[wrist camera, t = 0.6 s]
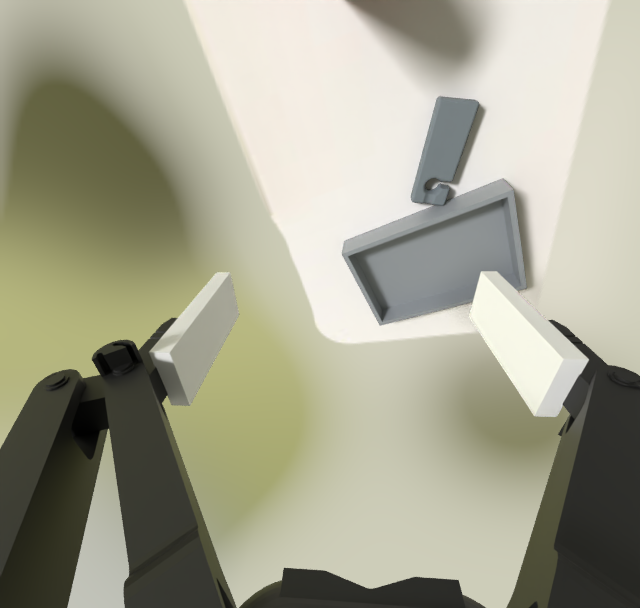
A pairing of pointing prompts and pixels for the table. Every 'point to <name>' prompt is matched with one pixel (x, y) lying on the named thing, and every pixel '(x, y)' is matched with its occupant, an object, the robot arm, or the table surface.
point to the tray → (438, 254)
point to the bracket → (443, 147)
